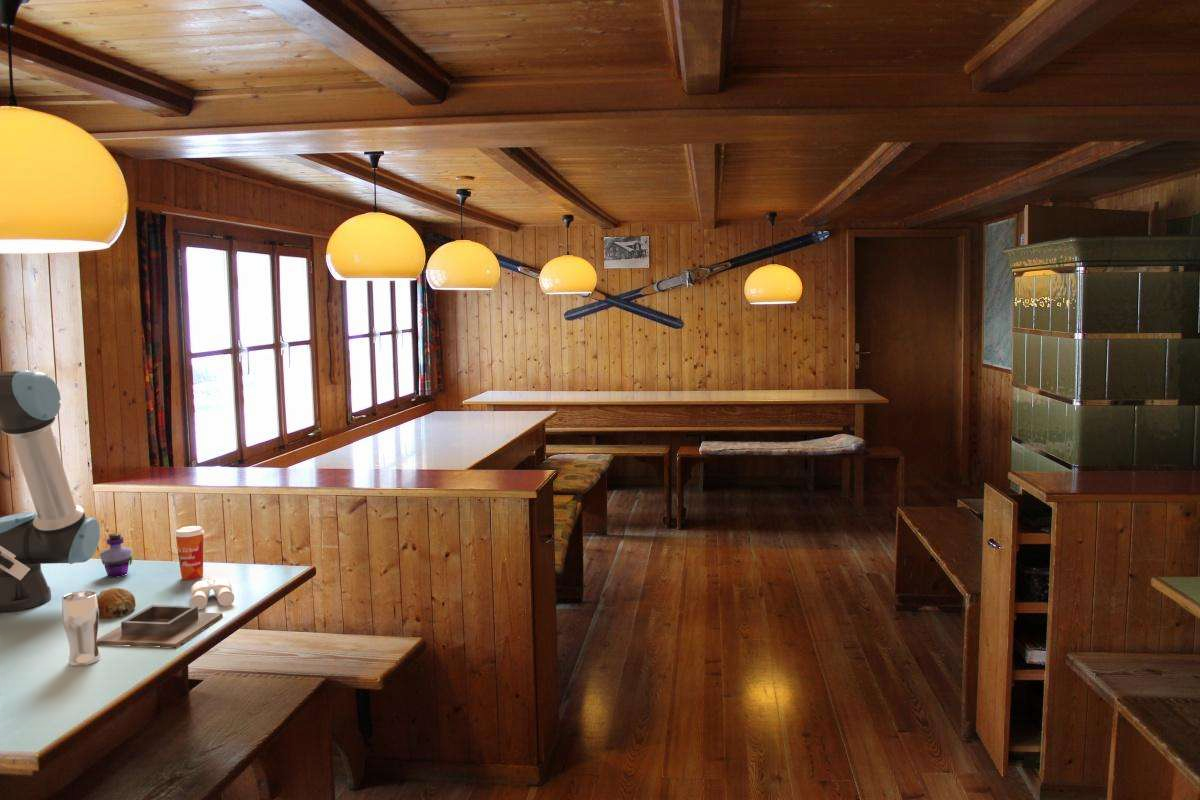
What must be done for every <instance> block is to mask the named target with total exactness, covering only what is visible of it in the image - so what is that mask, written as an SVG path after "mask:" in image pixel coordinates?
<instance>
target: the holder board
mask: <svg viewBox="0 0 1200 800" xmlns="http://www.w3.org/2000/svg"><path fill="white" fill-rule="evenodd" d="M220 618H221V619H222V618H224V617H223V612H202V611H201V612H199V610H198V607H195V606H191V605H162V604H160V605H158V604H152V605H150V606H148V607H146V608H145V609H143V610H140V611H139V612H137V613H135V614H133V615H132V616H129V617H128V618H125V620H122V621H121V622H120V626H119V627H116V628H114V629H113V630H111V631H109V632H108V633H106V634H104V635H102V636H100V637H99V638H97V646H112V645H130V646H129V647H137V646H160V647H159V648H162V647H177V646H179V645H180V646H181V644H182V643H183V642H185V641H186V642H188V641H189V640H191V639H192V638H194V637H195V636H196V634H197V635H198V634H199V632H200V631H201V632H202V630H203V629H204V630H205V628H206V627H207V628H209V627H210V626H211V625H210V624H212V623H213V624H215V623H216V622H218V621H219V620H221V619H220ZM218 619H219V620H218ZM217 620H218V621H217ZM215 621H216V622H215ZM214 622H215V623H214ZM213 624H212V625H213ZM209 625H210V626H209ZM208 626H209V627H208ZM207 628H206V629H207ZM204 630H203V631H204ZM201 632H200V633H201ZM193 636H194V637H193ZM190 638H191V639H190ZM187 640H188V641H187ZM186 642H185V643H186ZM183 644H184V643H183ZM183 644H182V645H183ZM180 646H179V647H180ZM177 648H178V647H177Z"/></svg>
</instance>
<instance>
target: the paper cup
mask: <svg viewBox="0 0 1200 800" xmlns="http://www.w3.org/2000/svg"><path fill="white" fill-rule="evenodd" d="M204 534H205V530H204V529H203V527H202V526H200V525H199V526H198V525H189V526H183V527H180V528H178V529H176V531H175V533H174V536H175V539H176V547H177V555H178V562H179V563H178V564H179V569H180V576H181V579H182V580H183V579H184V581H190V580H191V581H193V580H198V579H201V578H202V577H203V576H204ZM200 577H201V578H200ZM197 578H198V579H197Z"/></svg>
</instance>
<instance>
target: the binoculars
mask: <svg viewBox="0 0 1200 800" xmlns="http://www.w3.org/2000/svg"><path fill="white" fill-rule="evenodd" d="M211 590H213V593H214V596H215V599H217V603H218V604H219V605H220V606H221V607H229V606H231V605H232V604H233V603H234V601H235V595H234V592H233V588H232V583H231V581H230V580H228V579H226V578H224V577H221V578H219V577H218V578H214V577H211V576H210V577H208V578H207V579H205V580H198V581H196V582H195V583H194V584H192V586H191V588H190V603H189V604H190V605H189V606H195V607H198V611H200V610H199V609H201V610H203V609H206V606H207V604H208V600H209V598H210V593H211ZM228 605H229V606H228Z"/></svg>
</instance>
